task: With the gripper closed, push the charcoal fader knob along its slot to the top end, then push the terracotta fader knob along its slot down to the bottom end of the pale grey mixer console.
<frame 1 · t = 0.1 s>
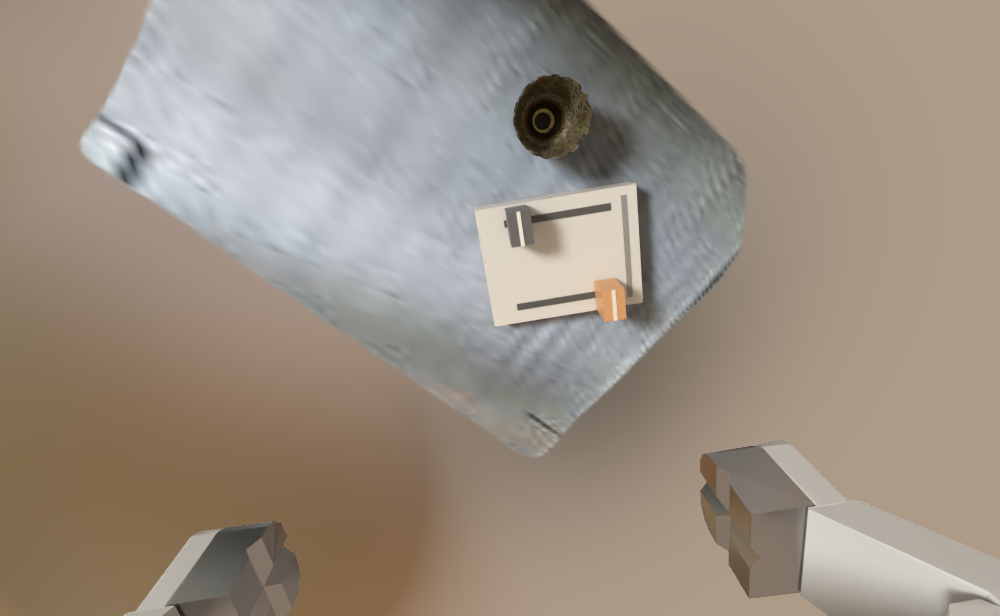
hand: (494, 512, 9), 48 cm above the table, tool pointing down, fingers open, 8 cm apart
fader 2: (519, 225, 50), point 5 cm above the table, slide at -4.5 cm
fader 1: (609, 299, 53), point 5 cm above the table, slide at 4.5 cm
mixer console: (558, 252, 56), on the table
cup: (542, 121, 51), on the table
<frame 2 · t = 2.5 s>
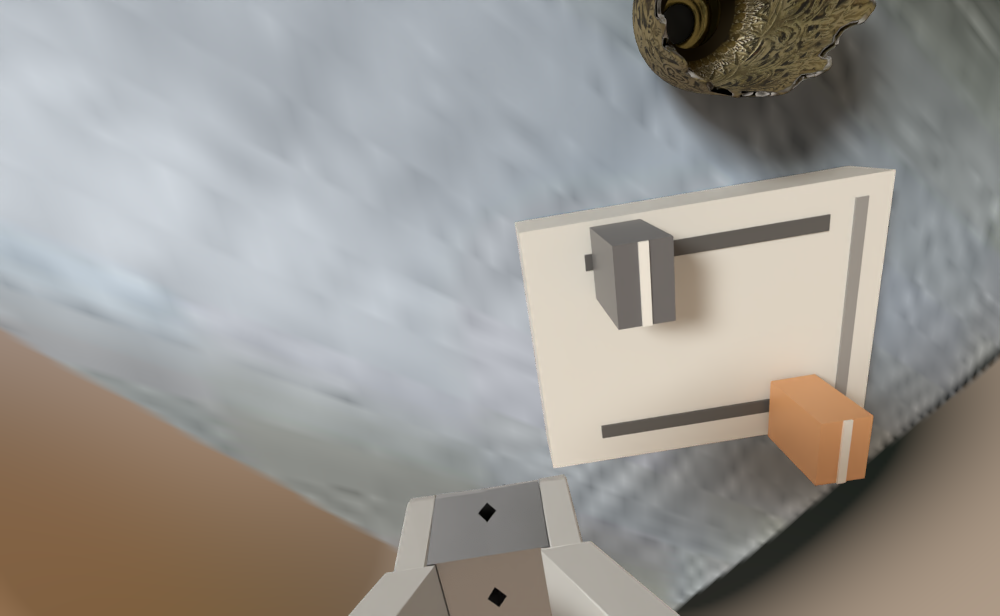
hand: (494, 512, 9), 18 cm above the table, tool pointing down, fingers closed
fader 2: (630, 271, 21), point 5 cm above the table, slide at -4.5 cm
fader 1: (815, 427, 24), point 5 cm above the table, slide at 4.5 cm
mixer console: (683, 314, 27), on the table
cup: (674, 25, 22), on the table
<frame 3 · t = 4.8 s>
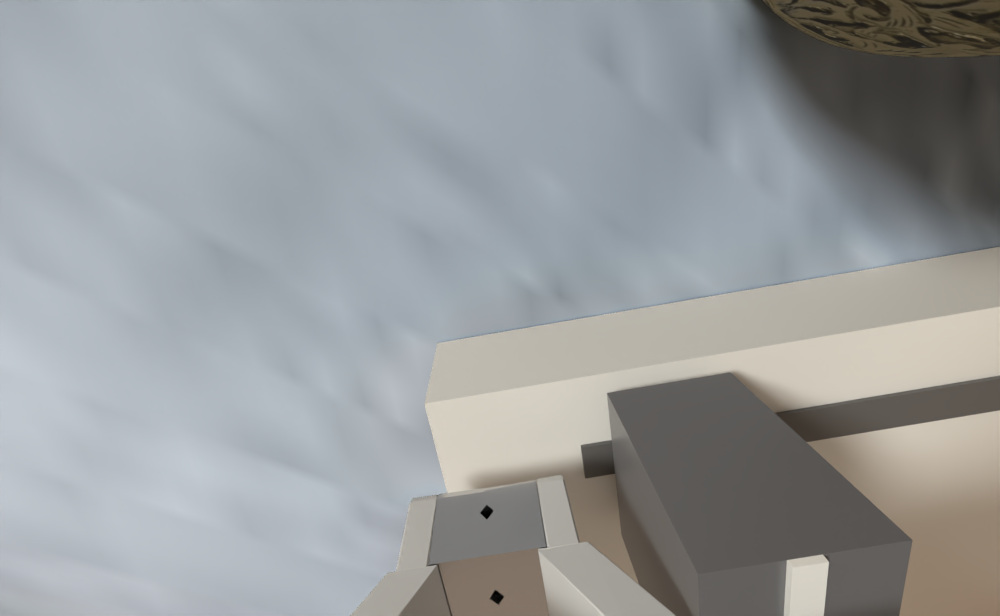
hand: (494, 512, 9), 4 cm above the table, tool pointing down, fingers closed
fader 2: (720, 538, 8), point 5 cm above the table, slide at -4.2 cm, touching gripper
mixer console: (771, 497, 14), on the table
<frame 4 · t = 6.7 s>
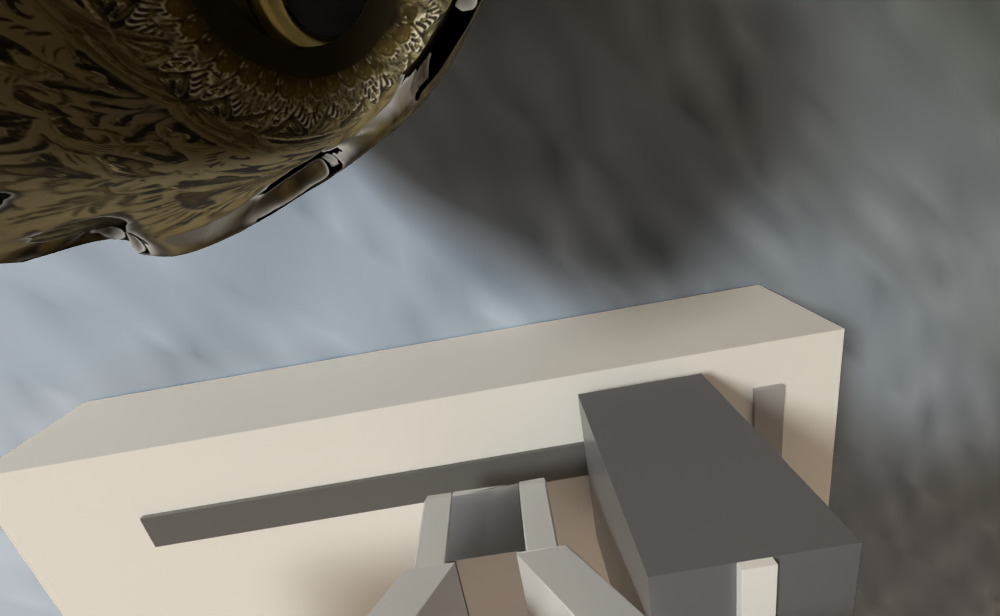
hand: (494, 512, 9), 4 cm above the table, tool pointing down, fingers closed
fader 2: (686, 540, 8), point 5 cm above the table, slide at 4.8 cm, touching gripper
mixer console: (468, 545, 15), on the table
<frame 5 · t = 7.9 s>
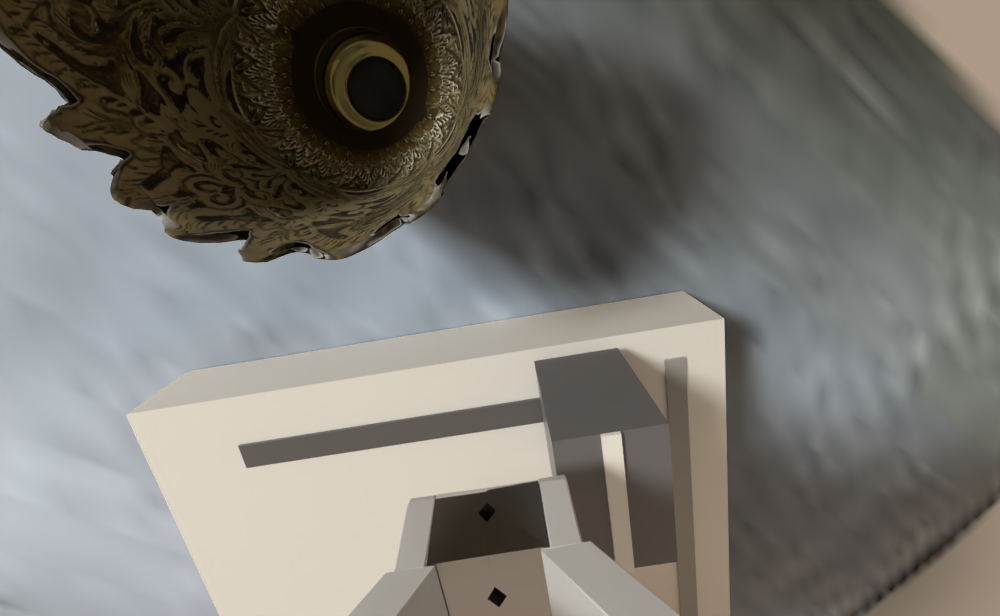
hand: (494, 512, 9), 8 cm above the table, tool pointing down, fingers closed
fader 2: (597, 450, 12), point 5 cm above the table, slide at 4.6 cm
mixer console: (467, 492, 19), on the table
cup: (378, 90, 14), on the table
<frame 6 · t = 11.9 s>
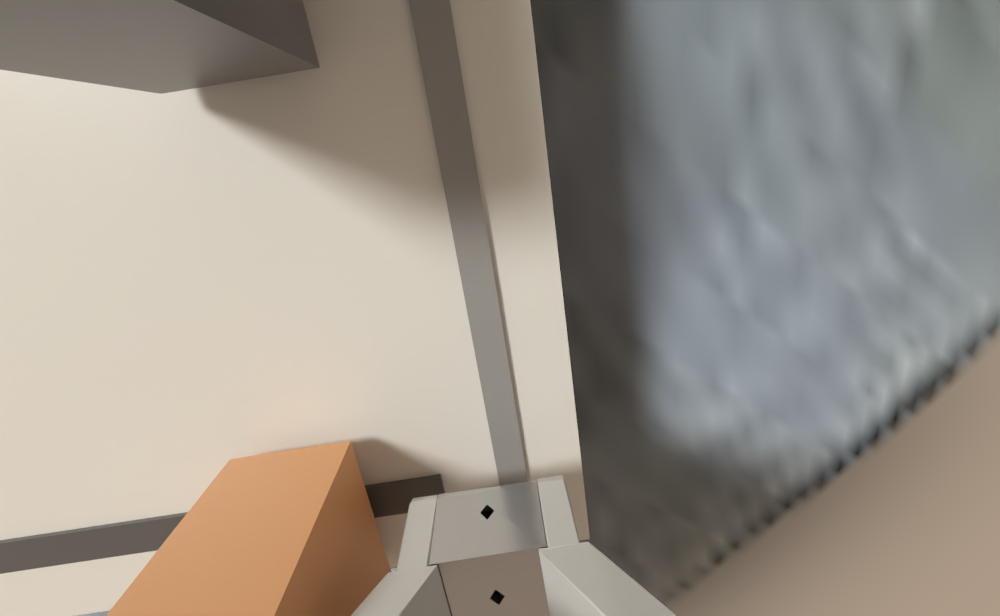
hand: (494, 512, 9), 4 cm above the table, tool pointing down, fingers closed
fader 1: (275, 615, 8), point 5 cm above the table, slide at 3.3 cm, touching gripper
mixer console: (169, 273, 11), on the table
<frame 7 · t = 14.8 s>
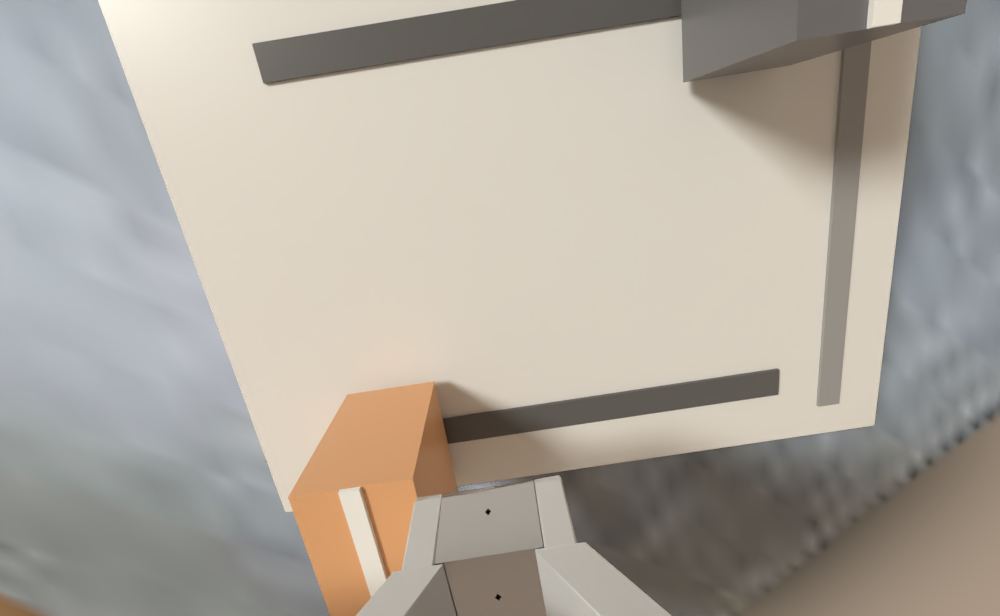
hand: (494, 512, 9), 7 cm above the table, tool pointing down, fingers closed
fader 1: (391, 494, 11), point 5 cm above the table, slide at -4.8 cm, touching gripper
mixer console: (537, 225, 15), on the table
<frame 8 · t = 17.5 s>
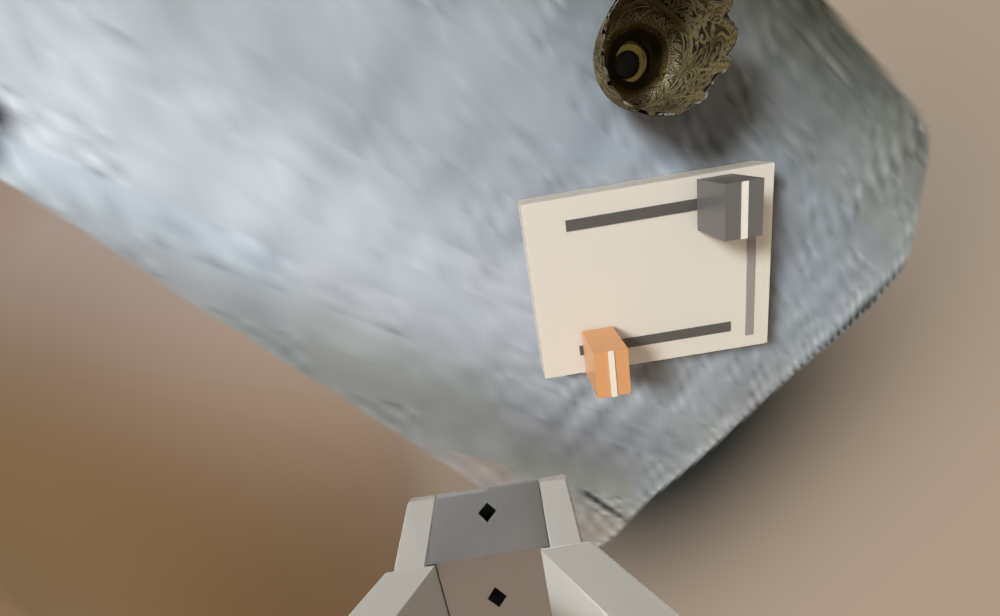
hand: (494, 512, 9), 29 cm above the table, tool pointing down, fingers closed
fader 2: (728, 206, 31), point 5 cm above the table, slide at 4.6 cm
fader 1: (605, 361, 34), point 5 cm above the table, slide at -4.6 cm
mixer console: (638, 268, 38), on the table
cup: (625, 65, 33), on the table
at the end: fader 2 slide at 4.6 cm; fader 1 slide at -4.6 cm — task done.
